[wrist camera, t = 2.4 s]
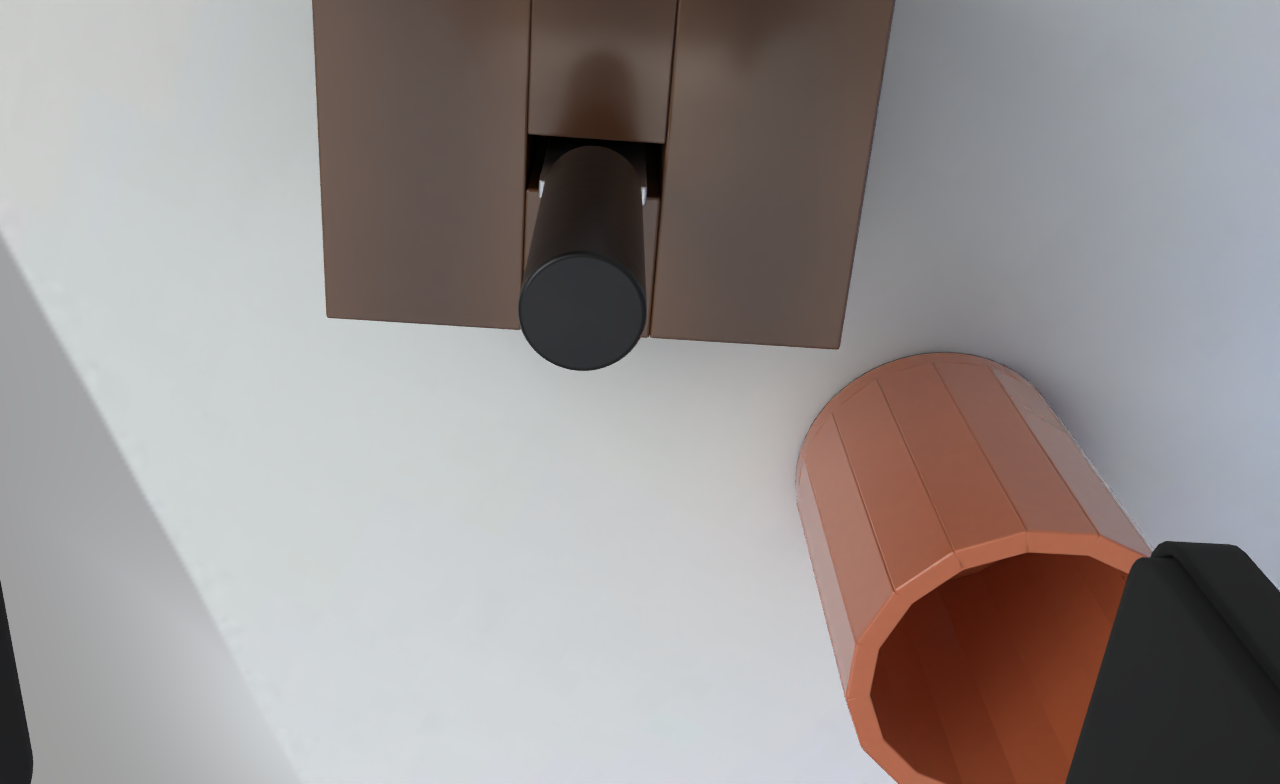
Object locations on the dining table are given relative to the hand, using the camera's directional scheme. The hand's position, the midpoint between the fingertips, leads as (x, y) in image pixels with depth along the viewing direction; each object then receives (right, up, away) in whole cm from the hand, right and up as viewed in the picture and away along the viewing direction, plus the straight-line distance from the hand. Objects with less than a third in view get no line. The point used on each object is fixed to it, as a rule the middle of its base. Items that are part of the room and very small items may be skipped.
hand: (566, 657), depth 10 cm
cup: (+10, 0, +28) cm, 29 cm away
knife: (0, +10, +22) cm, 25 cm away
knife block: (0, +10, +22) cm, 25 cm away
